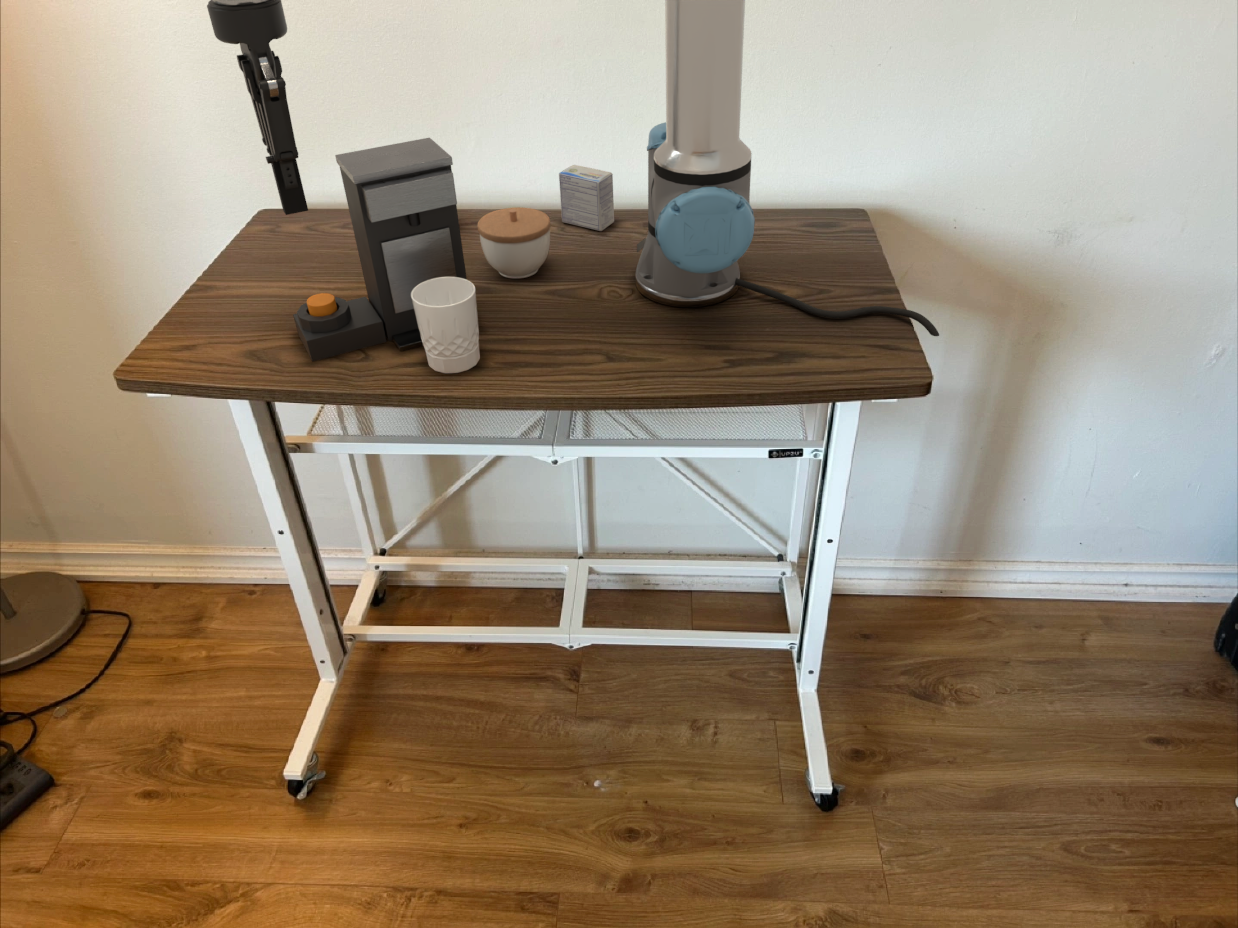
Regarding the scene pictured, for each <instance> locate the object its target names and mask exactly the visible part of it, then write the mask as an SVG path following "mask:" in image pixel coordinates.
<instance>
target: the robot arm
mask: <svg viewBox="0 0 1238 928" xmlns="http://www.w3.org/2000/svg"><path fill="white" fill-rule="evenodd" d="M206 8H207V12H208V15H209V20H210V22H211V26H212V30H213V34H214V37H215V39H217V40H218V41H219V42H221V43H225V44H231V45H238V44H239V47H240V51H241V54H237V55H236V59H237V60H236V61H237V64H238V67H239V70H240V71H241V72H242V74H243V79H244V81H245V86H246V89H247V92H248V93H249V95H250V99H251V103H252V106H253V109H254V113H255V116H256V121H257V123H258V127H259V130H260V134H261V137H262V138H261V141H262V143H263V145H264V146H266V152H267V153H268V156H265V161H266V162H267V164H268V165H269V164H270V165H271V169H272V172H273V176H274V177H273V178H274V180H275V185H276V188H277V193H278V196H279V201H280V204H281V206H282V211H283V213H284V215H285V216H288V215H293V214H298V213H303V212H304V213H305V212H308V211H309V207H308V203H307V199H306V195H305V190H304V187H303V181H302V177H301V173H300V169H299V166H298V161H297V159H299V151H298V147H297V143H296V138H295V134H294V129H293V123H292V119H291V113H290V109H289V103H288V97H287V90H286V89H287V88H286V86H287V83H286V81H285V79H284V77H282V74H283V68H282V67H283V66H282V64H281V60H280V57H279V55H276V54H275V52H274V50H272V48H271V46H270V43H271V42H272V41H273V40H278V39H281V38H284V36H286V34H287V33H288V25H287V21H286V16H285V12H284V7H283V3H282V0H209V1H208V3H207V4H206ZM745 10H746V0H664V26H665V27H664V28H665V30H664V31H665V33H664V35H665V40H664V41H665V42H664V43H665V44H664V45H665V122H662V123H658V124H656V125H654V126H653V127H652V128H651V129H650V130H649V132H648V139H647V140H648V142H647V146H646V151H647V174H648V175H647V180H648V181H647V192H648V193H647V221H648V222H647V234H646V235H647V236H646V237H645V238H643V239H642V240H640V241H639V242H638V243H637V244H636V253H638V252H640V251H641V253H640V256H639V259H638V261H637V264H636V268H635V286H636V288H637V291H639V293H640V294H641V295H642V296H644V297H645V298H647V299H649V300H651V301H653V302H656V303H659V304H661V305H665V306H672V307H680V308H697V307H699V308H700V307H706V306H711V305H716V304H718V303H721V302H723V301H725V300H728V299H729V298H731V297H733V295H735V294H736V293H737V291H738V290H739V288H740V287H741V288H743V289H747V290H750V291H752V292H755V293H758V294H761V295H764V296H766V297H769V298H772V299H775V300H777V301H780V302H783V303H785V304H789V305H790V306H793V307H795V308H797V309H799V310H801V311H804V312H806V313H808V314H810V315H813V316H817V317H821V318H827V319H847V318H854V317H859V316H863V315H869V314H884V315H892V316H899V317H900V316H901V317H904V318H905V317H906V318H909V319H912V320H913V321H916V322H918V323H919V324H920V325H921V326H923V327H924V328H925V330H926V331H927V332H928V333H929V335H931V336H932V337H940V333H939V331H938V330H937V328H936V326H935V325H934V324H933V323H932V322H931V321H930V320H929V319H928V318H927V317H925V316H924V315H922V314H921V313H919V312H917V311H914V310H910V309H905V308H899V307H892V306H883V305H871V306H864V307H863V306H862V307H859V308H853V309H850V310H849V309H848V310H842V311H840V310H839V311H834V310H827V309H826V310H825V309H822V308H817V307H815V306H812V305H810V304H808V303H805V302H803V301H801V300H800V299H797V298H794V297H792V296H789V295H787V294H784V293H781V292H778V291H776V290H774V289H771V288H767V287H765V286H762V285H759V284H756V283H753V282H750V281H748V280H744V279H741V270H740V267H739V262H738V260H739V259H741V258H742V257H743V256H744V255H745V253H746V252H747V251H748V249H749V248H750V245H751V243H752V242H753V238H754V234H755V224H756V220H755V215H754V210H753V208H752V205H751V204H750V199H751V197H750V196H751V175H752V174H751V173H752V155H753V154H752V150H751V149H750V148H749V146H748V145H747V144H746V143H745V142H744V141H743V140H742V139H741V138H740V135H741V134H740V133H741V132H740V131H741V108H742V107H741V106H742V83H743V61H744V39H745V37H744V35H745V15H746V14H745V13H746V11H745Z"/></svg>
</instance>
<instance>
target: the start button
mask: <svg viewBox="0 0 1238 928" xmlns="http://www.w3.org/2000/svg"><path fill="white" fill-rule="evenodd" d="M335 297H336V296H335V295H334V294H332V293H328V292H320V293H316V294H313V295H311V296H309V297H308V298H307V300H306V302H307V306H308V310H309V313H310V315H312V316H327V315H331V314H332V313H334V312H336V311H337V305H336V300H335Z"/></svg>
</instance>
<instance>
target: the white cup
mask: <svg viewBox="0 0 1238 928" xmlns="http://www.w3.org/2000/svg"><path fill="white" fill-rule="evenodd" d="M411 298H412V302H413V307H414V311H415V315H416V319H417V324H418V328H419V331H420V336H421V339H422V342H423V346H422V347H423V348H424V351H425V355H426V359H427V360H426V361H427V363H428V366H429V368H431V369H432V370H434V371H435V372H439V373H442V374H458V373H462V372H466V371H469V370H471V369H472V368H473V367H475V366H477V364H478V363H479V361H480V359H481V353H480V341H479V339H480V330H479V329H480V328H479V327H480V326H479V315H478V314H479V313H478V305H477V303H478V301H477V291H476V286H475V284H474V283H473V282H472V281H470V280H469V279H467V280H466V279H463V278H459V277H438V278H433V279H430V280H427V281H424V282H422V283H420V284H418V285H417V286H416V287H415V288H414V289H413V290H412V292H411Z"/></svg>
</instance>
